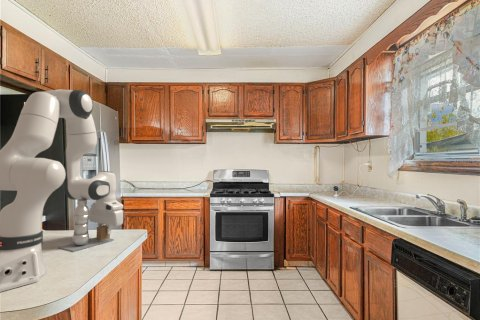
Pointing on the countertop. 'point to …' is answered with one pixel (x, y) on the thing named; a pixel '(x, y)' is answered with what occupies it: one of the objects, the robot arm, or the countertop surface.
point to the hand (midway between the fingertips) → (105, 232)
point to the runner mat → (91, 240)
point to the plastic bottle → (81, 223)
